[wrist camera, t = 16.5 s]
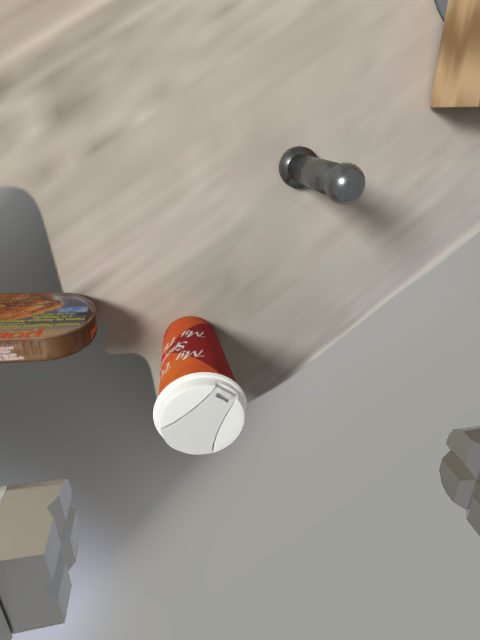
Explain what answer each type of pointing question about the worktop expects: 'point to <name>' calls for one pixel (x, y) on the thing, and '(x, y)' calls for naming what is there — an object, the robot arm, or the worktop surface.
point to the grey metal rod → (322, 175)
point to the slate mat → (442, 7)
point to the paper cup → (197, 391)
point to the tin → (44, 326)
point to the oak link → (459, 57)
